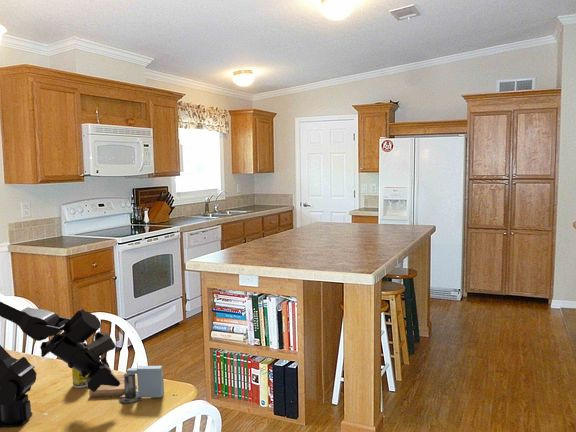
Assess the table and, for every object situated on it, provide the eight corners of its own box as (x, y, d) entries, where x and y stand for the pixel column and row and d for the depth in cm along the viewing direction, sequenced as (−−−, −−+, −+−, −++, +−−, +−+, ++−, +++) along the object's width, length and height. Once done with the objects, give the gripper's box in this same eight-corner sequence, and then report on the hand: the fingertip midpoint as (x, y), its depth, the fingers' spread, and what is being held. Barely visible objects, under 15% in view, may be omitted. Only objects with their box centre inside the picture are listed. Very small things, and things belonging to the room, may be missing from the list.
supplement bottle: (79, 390, 147) (77, 357, 146) (69, 385, 150) (67, 353, 149) (96, 383, 151) (94, 352, 150) (86, 379, 154) (84, 348, 153)
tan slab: (83, 405, 137) (81, 380, 136) (100, 382, 152) (99, 360, 151) (139, 403, 138) (137, 378, 137) (150, 380, 152) (149, 358, 152)
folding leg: (128, 397, 139) (126, 369, 139) (130, 394, 141) (128, 366, 141) (161, 397, 139) (160, 368, 138) (163, 393, 141) (162, 365, 140)
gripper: (100, 337, 122) (147, 371, 128) (90, 317, 138) (132, 349, 145) (66, 374, 119) (117, 408, 125) (60, 350, 135) (105, 381, 142)
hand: (119, 384), depth 134 cm, fingers closed
